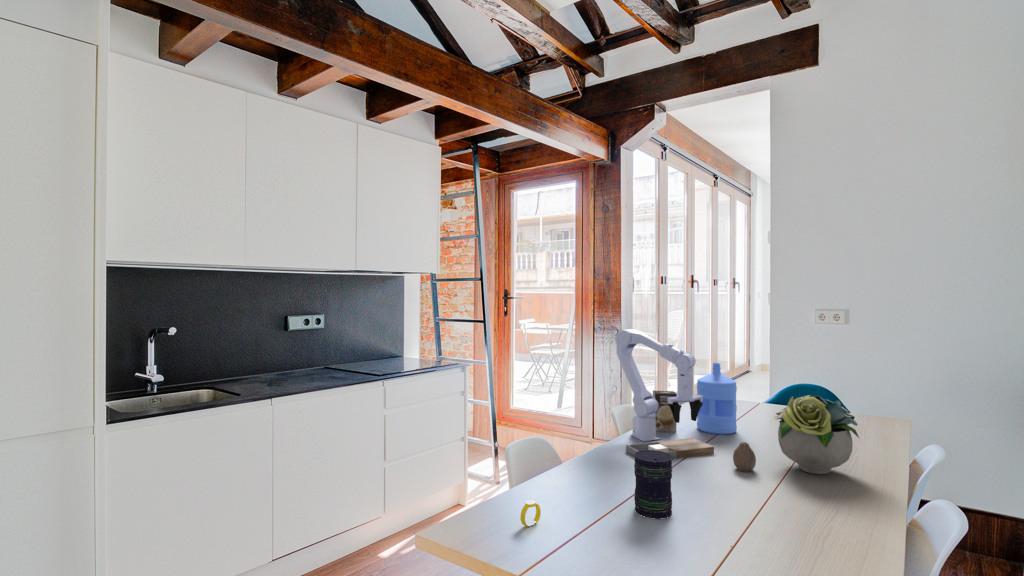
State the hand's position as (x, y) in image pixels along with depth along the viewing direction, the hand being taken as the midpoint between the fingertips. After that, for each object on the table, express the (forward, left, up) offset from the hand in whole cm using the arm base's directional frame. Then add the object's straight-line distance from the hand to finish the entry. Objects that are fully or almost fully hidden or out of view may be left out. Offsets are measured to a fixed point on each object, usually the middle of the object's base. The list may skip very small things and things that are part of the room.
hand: (685, 421), depth 199 cm
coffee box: (-22, +6, -10) cm, 25 cm away
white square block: (+6, -16, -9) cm, 19 cm away
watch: (+43, -79, -10) cm, 90 cm away
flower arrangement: (+36, +23, -10) cm, 44 cm away
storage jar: (+46, -45, -10) cm, 65 cm away
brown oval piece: (+28, +2, -10) cm, 30 cm away
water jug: (-15, +27, -10) cm, 32 cm away
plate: (+5, -4, -9) cm, 11 cm away
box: (+5, -18, -9) cm, 21 cm away
